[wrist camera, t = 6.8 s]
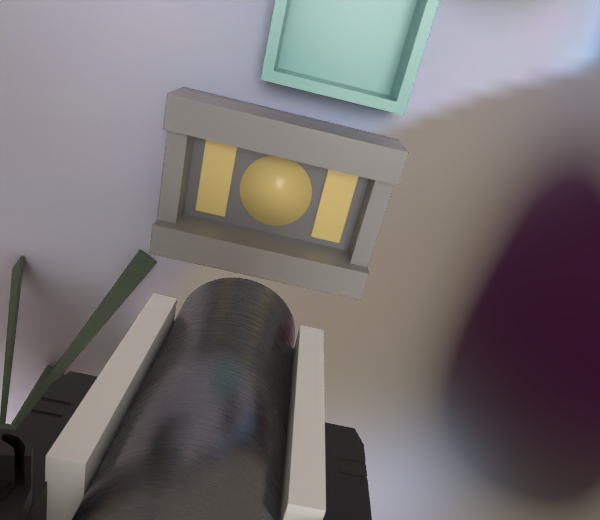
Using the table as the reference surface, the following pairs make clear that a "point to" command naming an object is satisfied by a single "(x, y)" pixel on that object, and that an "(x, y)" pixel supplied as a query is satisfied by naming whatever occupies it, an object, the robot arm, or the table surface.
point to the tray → (349, 48)
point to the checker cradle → (272, 192)
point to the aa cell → (205, 416)
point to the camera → (98, 319)
